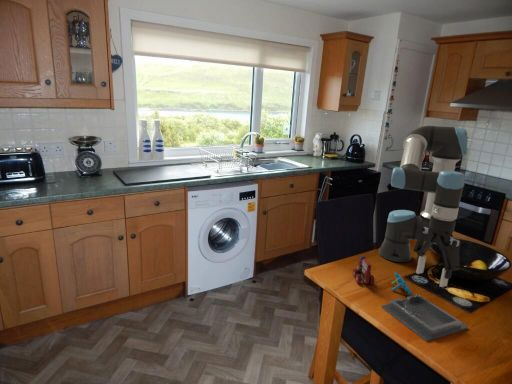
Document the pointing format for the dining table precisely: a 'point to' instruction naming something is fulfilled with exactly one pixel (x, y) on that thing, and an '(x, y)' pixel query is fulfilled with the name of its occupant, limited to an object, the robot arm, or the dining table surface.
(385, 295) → the dining table surface
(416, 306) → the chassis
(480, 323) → the dining table surface
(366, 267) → the dark red figurine
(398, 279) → the blue toy figure
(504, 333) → the dining table surface
